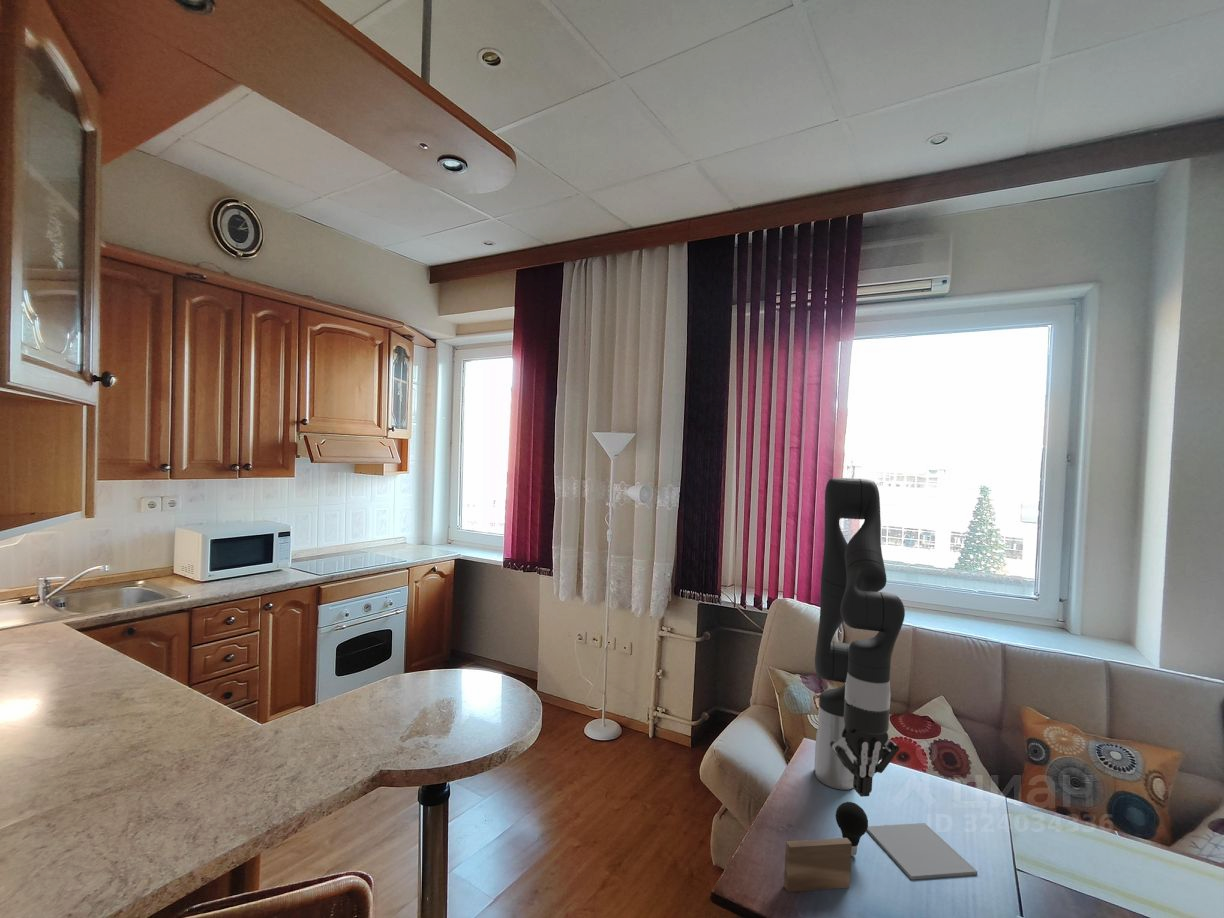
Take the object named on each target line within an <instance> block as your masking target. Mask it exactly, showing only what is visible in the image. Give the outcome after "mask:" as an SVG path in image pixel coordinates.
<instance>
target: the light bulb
mask: <svg viewBox="0 0 1224 918" xmlns="http://www.w3.org/2000/svg"><path fill="white" fill-rule="evenodd" d="M835 821H836V824H837V826H838V828H839V829H840V832H841V836H842V837H841V838H848V839H849V841H850V842H851V843H852V850H851V857H854V856H856V855H857V854H858V845H859V844H860V840H861V838H862V836H864V835H865V833H866V832H867V828H868V826H869V820H868V816H867V814H866V812H865V810H864V809H863V808H862V807H861V806H860V805H858V804H857V803H855V802H852V801H845V802H842V803H841V804H839V805H838V806H837V808H836V811H835Z"/></svg>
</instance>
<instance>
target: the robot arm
mask: <svg viewBox="0 0 1224 918" xmlns="http://www.w3.org/2000/svg"><path fill="white" fill-rule="evenodd" d="M880 498H881V497H880V492H879V487H878V485H877V484H876V482H875V481H874V480H872V479H867V478H851V477H848V478H847V477H833V478H832V477H831V478H830V479H828V481H827V483H826V486H825V491H824V543H823V544H824V545H823V557H822V566H821V567H822V568H821V578H820V579H821V580H820V603H819V604H820V606H819V607H820V608H819V621H818V622H819V623H818V628H817V629H818V631H817V636H816V637H817V639H816V646H815V654H814V670H815V673H816V675H817V677H818V678H820V679H823V680H827V681H832V682H838V683H843V684H844V685H841V686H839V687H836V688H831V689H827V690H824V691H821V693H820V695H819V697H818V717H817V718H818V721H817V731H816V733H815V746H814V747H815V748H814V750H815V752H814V768H813V769H814V770H815V771H814V773H815V777H816V779H817V780H819V782H821V783H822V784H823V785H825V786H828V787H830V788H833V789H837V790H851V789H854V791H856V793H857V794H858V795H859V796H860V797H869V796H870V793H872V791H873V777H874V776H875V774H876V773H879V774H882V773H883V772H884V771H885V770H886V769H887V767H888V766H889V764H890V763H891V762H892V760H893V759H894V757H895V756H896V755H897V754H898V752H899V751H900V746H899V745H898V744H897V743H895V742H894V741H893V740H891V739H890V738H889V734H888V732H889V731H888V730H889V727H890V723H889V722H890V708H891V685H890V684H891V681H890V680H891V664H892V663H891V662H892V655H893V652H894V648H895V645H896V642H897V638H898V637H899V634H900V631H901V629H902V627H903V624H904V620H905V615H906V614H905V613H906V611H905V605H904V603H903V601H902V599H901V598H900V597H899V596H898V595H896V594H894V593H891V592H885V591H882V590H883V589H884V588H885V587H886V584H887V573H886V572H887V571H886V568H885V562H884V558H883V553H882V543H881V542H882V539H881V538H882V525H881V524H882V521H881V519H882V518H881V502H880V501H881V500H880ZM841 519H845V520H848V519H849V520H864V521H863V523H862V525H861V526H860V527H859V529H858V530H857V531H856V532H855V533H854V534H853V536H852V537H851V538H850V540H849V541H848V542H847V539H846V538H845V535H844V534H843V532H842V529H841V526H840V520H841ZM843 623H844V624H846V625H847V626H848V627H849V628H852V629H855V630H863V631H864V630H865V631H873V632H877V634H876V635H874V636H873V637H871V638H865V639H857V640H852V642H851V643H847V642H841V641H833V638H834V635H836V632H837V630H838V629H839V627H840V626H841V625H842V624H843Z"/></svg>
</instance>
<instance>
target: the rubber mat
mask: <svg viewBox="0 0 1224 918" xmlns="http://www.w3.org/2000/svg"><path fill="white" fill-rule="evenodd" d="M867 831H868V832H869V833H870V834H871V835H870V834H869V833H868V832H867ZM867 831H866V832H867V833H868V834H869V835H870V837H872V839H874V841H877V842H878V843H879V844H878V843H877V842H876V843H877V844H878V845H879V846H880V847H881V848H882V849H883V850H884V852H886V854H887V855H888V856H889V857H890V858H891V859H892V860H893V861H894V863H895V864H896V865H897V866H898V867H899V868H900V869H901V870H902V871H903V872H904V874H906V875H907V877H908V878H909V879H910V880H921V879H923V880H924V879H925V880H926V879H936V878H948V877H949V878H951V877H961V876H962V877H964V876H975V875H978V870H977V869H975V867H974V866H972V865H971V864H970V863H969V862H968V861H967V860H966V859H965V858H963V857H962V855H960V854H959V853H958V852H957V851H956V850H955V849H954V848H953V847H951V846H950V844H949V843H947V842H946V841H945V840H944V839H943V838H942V837H940V835H938V834H937V833H936V832H935V831H934V830H933V829H932V828H931V827H930V826H929V825H928V824H926V823H925V822H921V823H904V824H903V823H902V824H901V823H899V824H888V825H872V826H871V825H868V828H867Z"/></svg>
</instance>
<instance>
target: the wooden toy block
mask: <svg viewBox="0 0 1224 918" xmlns="http://www.w3.org/2000/svg"><path fill="white" fill-rule="evenodd" d="M851 850H852V843H851V842H850V841H849V839H848V838H843V837H839V838H837V837H836V838H821V839H820V838H819V839H818V838H817V839H805V840H803V839H802V840H788V841H787V840H786V841H785V851H784V852H785V853H784V854H785V855H784V874H783V887H784V889H785V891H787V893H795V892H796V893H797V892H808V891H821V890H831V889H830V888H833V889H832V890H834V889H835V888H836V889H845V888H846V889H847V888H851V887H850V885H851V883H850V882H851V867H852V866H851V865H852V856H851Z"/></svg>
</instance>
